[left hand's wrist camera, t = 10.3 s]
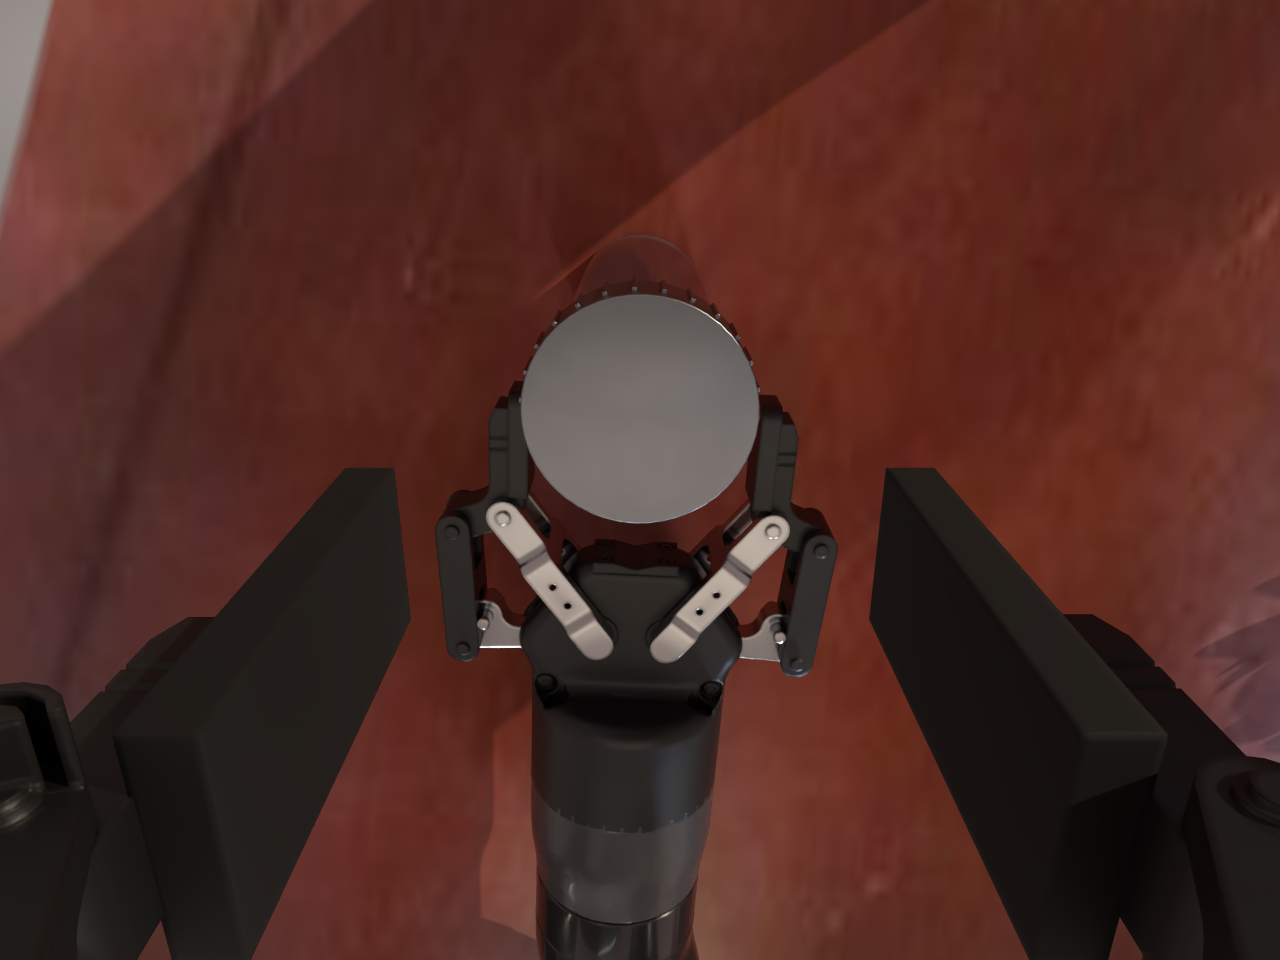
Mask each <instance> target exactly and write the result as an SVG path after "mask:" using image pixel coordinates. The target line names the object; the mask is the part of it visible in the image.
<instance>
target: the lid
mask: <svg viewBox="0 0 1280 960" xmlns="http://www.w3.org/2000/svg"><path fill="white" fill-rule="evenodd" d="M739 339H740V336H739V334H738V332H737V330H736V328H735V326H734V325H733V323H731V324H730V325H729V324H728V322H727V321H726V320H725V318H724V317H723V316H722V315H721V314H720V313H719V312H718V309H717V307H716V305H715V304H714V303H712V304H711V305H709V304H708V303H707V302H706V301H704V300H703V299H701V298H700V297H698V296H696V295H694V294H693V291H692V289H690V288H688V290H687V291H686V290H684V289H682V288H679V287H677V286H673V285H669V284H666V281H665V280H662V279H661V282H654V281H637V278H632V281H626V282H619V283H614V284H611V285H609V282H606V283H604V287H601V288H598V289H596V290H594V291H591V292H589V293H587V294H585V295H583V294H582V293H581V294H579V295H578V298H577V300H575V301H574V302H573V303H572V304H570V305H569V306H568V307H567V308H565V309H564V310H563V311H562V312H561V311H560V310H559V311H558V312H557V313H556V315H555V317H554V319H553V322H552V324H551V325H550V326H549V328H548V329H547V330H546V332H545V333H544V332H541V334H540V336H539V338H538V340H537V342H536V344H535V346H534V348H535V349H536V351H535V353H534V355H533V357H532V356H531V357H530V359H529V361H528V363H527V365H526V367H525V369H524V372H523V374H524V375H525V378H524V382H523V387H522V392H521V395H520V397H519V402H521V403H520V414H521V425H522V430H523V435H524V439H525V442H526V445H527V447H528V450H529V453H530V455H531V457H532V459H533V461H534V463H535V465H536V466H537V468H538V469H539V471H540V472H541V474H542V475H543V476H544V478H545V479H546V480H547V481H548V482H549V483H550V484H551V486H552V487H553V488H554V489H555V490H556V491H558V492H559V493H560V494H561V495H562V496H563V497H564V498H566V499H567V500H569V501H570V502H572V503H573V504H575V505H576V506H578V507H580V508H582V509H584V510H586V511H588V512H590V513H592V514H595V515H597V516H600V517H603V518H606V519H610V520H615V521H619V522H628V523H652V522H660V521H666V520H670V519H673V518H677V517H680V516H683V515H685V514H688V513H690V512H693V511H694V510H696V509H698V508H700V507H702V506H704V505H705V504H707V503H708V502H710V501H711V500H713V499H714V498H715V497H717V496H718V495H719V494H720V493H721V492H722V491H723V490H725V489H726V488H727V487H728V486H729V485H730V483H731V482H732V481H733V480H734V479H735V478H736V476H737V475H738V474H739V472H740V471H741V469H742V467H743V466H744V464H745V463H746V461H747V459H748V457H749V454H750V452H751V450H752V448H753V445H754V441H755V438H756V435H757V430H758V424H759V419H760V414H759V412H760V402H759V392H760V387H759V385H758V383H757V381H756V378H755V375H754V372H753V370H752V367H751V365H753V364H754V363H753V360H752V358H751V356H750V354H749V352H748V350H747V348H746V347H744V348H743V347H742V345H741V343H740V341H739Z"/></svg>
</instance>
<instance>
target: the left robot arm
mask: <svg viewBox="0 0 1280 960" xmlns="http://www.w3.org/2000/svg"><path fill="white" fill-rule="evenodd" d="M410 620H411V617H410V608H409V599H408V590H407V581H406V572H405V563H404V554H403V545H402V536H401V527H400V517H399V508H398V499H397V490H396V481H395V472H394V468H345V469H344V470H343V472H342V473H341V474H340V475H339V476H338V477H337V478H336V480H335V481H334V482H333V483H332V484H331V485H330V486H329V488H328V489H327V490H326V491H325V492H324V493H323V494H322V496H321V497H320V498H319V499H318V500H317V501H316V502H315V504H314V505H313V506H312V507H311V508H310V509H309V510H308V512H307V513H306V514H305V515H304V516H303V517H302V518H301V520H300V521H299V522H298V523H297V524H296V525H295V526H294V528H293V529H292V530H291V531H290V532H289V533H288V534H287V536H286V537H285V538H284V539H283V540H282V541H281V542H280V544H279V545H278V546H277V547H276V548H275V549H274V550H273V552H272V553H271V554H270V555H269V556H268V557H267V558H266V560H265V561H264V562H263V563H262V564H261V565H260V566H259V568H258V569H257V570H256V571H255V572H254V573H253V574H252V576H251V577H250V578H249V579H248V580H247V581H246V582H245V584H244V585H243V586H242V587H241V588H240V589H239V590H238V592H237V593H236V594H235V595H234V596H233V597H232V598H231V600H230V601H229V602H228V603H227V604H226V605H225V606H224V608H223V609H222V610H221V611H220V612H219V613H218V614H217V615H216V617H188V618H186V619H184V620H183V621H181V622H179V623H178V624H176V625H174V626H173V627H171V628H169V629H167V630H166V631H164V632H162V633H161V634H159V635H157V636H155V637H154V638H152V639H151V640H150V641H149V642H148V643H147V644H146V645H145V646H144V647H143V648H142V649H141V650H140V651H139V652H138V653H137V654H136V655H135V656H134V657H133V658H132V659H131V660H130V661H129V662H128V663H127V664H126V670H121V671H120V672H119V673H118V674H117V675H116V676H115V677H114V678H113V679H112V680H111V681H110V682H109V683H108V684H107V685H106V686H105V687H106V689H105V692H99V693H98V695H97V696H96V697H95V698H94V699H93V700H92V701H91V702H90V703H89V704H88V705H87V706H86V707H85V708H84V709H83V710H82V711H81V712H80V713H79V714H78V715H77V716H76V717H75V718H74V719H73V720H72V721H71V723H70V722H69V718H68V715H67V712H66V708H65V705H64V701H63V698H62V695H61V694H60V693H58V692H57V691H55V690H54V689H52V688H51V687H49V686H48V685H40V684H33V683H25V682H21V683H12V684H2V685H0V960H138V957H139V955H140V953H141V952H142V950H143V949H144V947H145V945H146V944H147V942H148V940H149V939H150V937H151V935H152V934H153V932H154V930H155V929H156V927H157V926H158V924H159V922H160V921H162V925H163V928H164V932H165V936H166V939H167V943H168V947H169V951H170V954H171V958H172V960H251V958H252V956H253V954H254V952H255V950H256V948H257V945H258V943H259V941H260V939H261V937H262V935H263V933H264V930H265V928H266V926H267V924H268V922H269V920H270V918H271V916H272V913H273V911H274V909H275V907H276V905H277V903H278V901H279V899H280V896H281V894H282V892H283V890H284V888H285V886H286V884H287V882H288V879H289V877H290V875H291V873H292V871H293V869H294V867H295V865H296V862H297V860H298V858H299V856H300V854H301V852H302V850H303V848H304V845H305V843H306V841H307V839H308V837H309V835H310V833H311V831H312V828H313V826H314V824H315V822H316V820H317V818H318V816H319V814H320V811H321V809H322V807H323V805H324V803H325V801H326V799H327V797H328V794H329V792H330V790H331V788H332V786H333V784H334V782H335V779H336V777H337V775H338V773H339V771H340V769H341V767H342V765H343V762H344V760H345V758H346V756H347V754H348V752H349V750H350V748H351V745H352V743H353V741H354V739H355V737H356V735H357V733H358V731H359V728H360V726H361V724H362V722H363V720H364V718H365V716H366V714H367V711H368V709H369V707H370V705H371V703H372V701H373V699H374V697H375V694H376V692H377V690H378V688H379V686H380V684H381V682H382V680H383V677H384V675H385V673H386V671H387V669H388V667H389V665H390V663H391V660H392V658H393V656H394V654H395V652H396V650H397V648H398V646H399V643H400V641H401V639H402V637H403V635H404V633H405V631H406V628H407V626H408V624H409V622H410ZM869 620H870V622H871V624H872V626H873V628H874V631H875V633H876V635H877V637H878V639H879V641H880V643H881V646H882V648H883V650H884V652H885V654H886V656H887V658H888V660H889V663H890V665H891V667H892V669H893V671H894V673H895V675H896V677H897V680H898V682H899V684H900V686H901V688H902V690H903V692H904V694H905V697H906V699H907V701H908V703H909V705H910V707H911V709H912V711H913V714H914V716H915V718H916V720H917V722H918V724H919V726H920V728H921V731H922V733H923V735H924V737H925V739H926V741H927V743H928V745H929V748H930V750H931V752H932V754H933V756H934V758H935V760H936V762H937V765H938V767H939V769H940V771H941V773H942V775H943V777H944V779H945V782H946V784H947V786H948V788H949V790H950V792H951V794H952V797H953V799H954V801H955V803H956V805H957V807H958V809H959V811H960V814H961V816H962V818H963V820H964V822H965V824H966V826H967V828H968V831H969V833H970V835H971V837H972V839H973V841H974V843H975V845H976V848H977V850H978V852H979V854H980V856H981V858H982V860H983V862H984V865H985V867H986V869H987V871H988V873H989V875H990V877H991V879H992V882H993V884H994V886H995V888H996V890H997V892H998V894H999V896H1000V899H1001V901H1002V903H1003V905H1004V907H1005V909H1006V911H1007V913H1008V916H1009V918H1010V920H1011V922H1012V924H1013V926H1014V928H1015V930H1016V933H1017V935H1018V937H1019V939H1020V941H1021V943H1022V945H1023V948H1024V950H1025V952H1026V954H1027V956H1028V958H1029V960H1108V958H1109V954H1110V951H1111V947H1112V943H1113V939H1114V936H1115V932H1116V928H1117V925H1118V921H1119V917H1120V918H1121V919H1122V921H1123V923H1124V924H1125V926H1126V927H1127V929H1128V931H1129V932H1130V934H1131V936H1132V937H1133V939H1134V941H1135V942H1136V944H1137V945H1138V947H1139V949H1140V950H1141V952H1142V954H1143V957H1142V960H1280V763H1278V762H1275V761H1272V760H1268V759H1265V758H1258V757H1249V756H1246V755H1245V754H1244V753H1243V752H1242V751H1241V750H1240V749H1239V748H1238V747H1237V746H1236V745H1235V744H1234V743H1233V742H1232V741H1231V740H1230V739H1229V738H1228V737H1227V736H1226V735H1225V734H1224V733H1223V732H1222V731H1221V730H1220V729H1219V727H1218V726H1217V725H1216V724H1215V723H1214V722H1213V721H1212V720H1211V719H1210V718H1209V717H1208V716H1207V715H1206V714H1205V713H1204V712H1203V711H1202V710H1201V709H1200V708H1199V707H1198V706H1197V705H1196V704H1195V703H1194V702H1193V701H1192V700H1191V699H1190V698H1189V697H1188V696H1187V695H1186V694H1185V692H1184V691H1183V690H1182V689H1176V687H1175V682H1174V681H1173V680H1172V679H1171V678H1170V677H1169V676H1168V675H1167V674H1166V673H1165V672H1164V671H1163V670H1162V669H1161V668H1160V667H1155V662H1154V661H1153V660H1152V659H1151V657H1150V656H1149V655H1148V654H1147V653H1146V652H1145V651H1144V650H1143V649H1142V648H1141V647H1140V646H1139V645H1138V644H1137V643H1136V642H1135V641H1134V640H1133V639H1132V638H1131V637H1130V636H1129V635H1127V634H1125V633H1123V632H1122V631H1120V630H1118V629H1117V628H1115V627H1113V626H1111V625H1110V624H1108V623H1106V622H1105V621H1103V620H1101V619H1099V618H1098V617H1096V616H1094V615H1092V614H1062V613H1061V612H1060V611H1059V610H1058V609H1057V608H1056V606H1055V605H1054V604H1053V603H1052V602H1051V601H1050V600H1049V598H1048V597H1047V596H1046V595H1045V594H1044V593H1043V592H1042V590H1041V589H1040V588H1039V587H1038V586H1037V585H1036V584H1035V582H1034V581H1033V580H1032V579H1031V578H1030V577H1029V576H1028V574H1027V573H1026V572H1025V571H1024V570H1023V569H1022V568H1021V566H1020V565H1019V564H1018V563H1017V562H1016V561H1015V560H1014V558H1013V557H1012V556H1011V555H1010V554H1009V553H1008V552H1007V550H1006V549H1005V548H1004V547H1003V546H1002V545H1001V544H1000V542H999V541H998V540H997V539H996V538H995V537H994V536H993V534H992V533H991V532H990V531H989V530H988V529H987V528H986V526H985V525H984V524H983V523H982V522H981V521H980V520H979V518H978V517H977V516H976V515H975V514H974V513H973V512H972V510H971V509H970V508H969V507H968V506H967V505H966V504H965V502H964V501H963V500H962V499H961V498H960V497H959V496H958V494H957V493H956V492H955V491H954V490H953V489H952V488H951V486H950V485H949V484H948V483H947V482H946V481H945V480H944V478H943V477H942V476H941V475H940V474H939V473H938V472H937V470H936V469H935V468H886V472H885V481H884V490H883V499H882V508H881V517H880V527H879V536H878V545H877V554H876V563H875V572H874V581H873V590H872V599H871V608H870V617H869Z"/></svg>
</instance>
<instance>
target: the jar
mask: <svg viewBox="0 0 1280 960" xmlns="http://www.w3.org/2000/svg"><path fill="white" fill-rule="evenodd" d="M632 278H637V281H654V282H661V279H662V280H665V281H666V284H669V285H673V286H677V287H679V288H682V289H684V290H686V291H687V290H688V288H690V289H692V291H693V294H694V295H696V296H698V297H700V298H701V299H703V300H704V301H706V302H707V303H708V304H709V301H708V299H707V296H706V294H705V291H704V289H703V286H702V284H701V281H700V279H699V276H698V274H697V271H696V269H695V267H694V266H693V264H692V262H691V261H690V259H689V258H688V257H687V256H686V255H685V254H684V253H683V251H682V250H680V249H679V248H678V247H677V246H675V245H674V244H672V243H670V242H669V241H667V240H664V239H662V238H659V237H656V236H652V235H644V234H636V235H628V236H624V237H621V238H618V239H616V240H613V241H611V242H610V243H608V244H606V245H605V246H603V247H602V248H601V249H600V250H598V251H597V252H596V254H595V255H594V256H593V257H592V258H591V259H590V261H589V262H588V264H587V266H586V267H585V269H584V271H583V274H582V276H581V279H580V281H579V284H578V286H577V288H576V291H575V293H574V296H573V298H572V301H571V303H570V304H572V303H573V302H574V301H575V300H577V298H578V295H579V294H581V293H582V294H583V295H585V294H587V293H589V292H591V291H594V290H596V289H598V288H601V287H604V283H606V282H609V285H611V284H614V283H619V282H626V281H632ZM709 305H710V304H709Z"/></svg>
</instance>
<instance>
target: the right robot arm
mask: <svg viewBox="0 0 1280 960" xmlns="http://www.w3.org/2000/svg"><path fill="white" fill-rule="evenodd" d="M523 382H524V381H514V383H513V385H512V387H511V389H510V391H509V396H508V397H503V396H500V398H499V400H498V402H497V404H496V406H495V408H494V410H493V413H492V415H491V418H490V420H489V485H488V486H486V487H485V488H482V489H479V490H475V491H472V492H471V491H468V490H459V491H456V492H455V493H453V494H452V495H451V497H450V499H449V501H448V503H447V506H446V509H445V511H444V513H443V515H442V516H441V517H440V518H439V520H438V522H437V524H436V527H435V536H436V546H437V556H438V565H439V575H440V585H441V595H442V605H443V614H444V624H445V634H446V644H447V650H448V653H449V654H450V656H451V657H453V658H454V659H456V660H458V661H470V660H472V659H474V658H475V657H476V656H477V655H478V653H479V650H480V648H522V650H523V652H524V653H525V655H526V656H527V658H528V660H529V662H530V664H531V667H532V673H533V684H532V769H531V777H532V785H531V819H532V831H533V838H534V844H535V849H536V858H537V884H536V939H537V947H538V952H539V957H540V960H699V956H698V952H697V947H696V943H695V938H694V933H693V928H692V926H693V919H694V907H695V897H696V887H697V878H698V871H699V865H700V861H701V857H702V854H703V851H704V847H705V844H706V840H707V836H708V830H709V824H710V815H711V806H712V797H713V787H714V778H715V768H716V759H717V750H718V741H719V731H720V722H721V713H722V703H723V694H724V685H725V680H726V677H727V675H728V673H729V671H730V669H731V668H732V666H733V665H734V664H735V663H736V662H737V660H738V659H739V658H750V659H760V660H770V661H779V662H780V665H781V669H782V671H783V672H784V673H785V674H786V675H788V676H791V677H801V676H804V675H806V674H807V673H808V672H809V671H810V670H811V668H812V665H813V661H814V657H815V652H816V647H817V643H818V638H819V634H820V629H821V625H822V620H823V616H824V611H825V607H826V602H827V598H828V593H829V589H830V584H831V580H832V575H833V571H834V566H835V562H836V557H837V553H838V546H837V543H836V541H835V539H834V537H833V535H832V533H831V530H830V528H829V526H828V524H827V522H826V520H825V518H824V516H823V514H822V513H821V512H820V511H819V510H817V509H815V508H805V509H804V508H802V507H799V506H797V505H795V504H793V503H791V495H792V487H793V479H794V471H795V464H796V454H797V448H798V440H799V438H798V435H797V431H796V428H795V424H794V422H793V421H792V419H791V417H790V415H789V413H788V412H783V410H782V406H781V404H780V402H779V400H778V398H777V396H775V395H759V402H760V412H759V414H760V419H759V424H758V430H757V435H756V438H755V441H754V445H753V448H752V450H751V452H750V454H749V457H748V466H747V475H746V484H745V488H746V491H747V495H748V499H747V500H746V501H745V502H744V504H743V505H742V506H741V507H740V508H739V509H738V510H737V511H736V512H735V513H734V514H733V515H732V516H731V517H730V518H729V519H728V520H727V521H726V522H725V523H724V524H723V525H718V526H716V527H714V528H713V529H712V530H711V531H710V532H709V533H708V534H707V535H706V536H705V537H704V538H703V539H702V540H701V541H700V542H699V543H698V544H697V545H696V546H695V547H694V549H693V550H692V551H691V552H690V553H687V552H685V551H683V550H681V549H678V548H677V543H668V542H654V543H649V544H643V545H638V546H634V545H631V544H627V543H624V542H621V541H617V540H606V539H595V544H594V545H590V546H587V547H584V548H582V549H581V547H580V546H579V545H578V543H577V542H576V541H575V540H574V538H573V537H572V536H571V535H570V533H569V532H568V531H567V529H566V528H565V527H564V526H563V524H562V523H561V522H560V521H559V520H558V519H557V518H555V517H552V516H551V515H550V514H549V513H548V512H547V511H546V509H545V508H544V507H543V506H542V504H541V503H540V502H539V500H538V499H537V498H536V497H535V495H534V494H533V493H532V491H531V490H530V488H531V485H532V482H533V478H534V465H535V463H534V461H533V459H532V457H531V455H530V453H529V450H528V447H527V445H526V442H525V439H524V435H523V430H522V425H521V414H520V403H521V402H519V397H520V395H521V392H522V387H523ZM490 532H494V533H495V534H496V535H497V537H498V538H499V539H500V540H501V541H502V543H503V544H504V545H505V546H506V548H507V549H508V550H509V551H510V552H511V554H512V555H513V556H514V557H515V559H516V560H517V562H518V564H519V567H520V571H521V573H522V575H523V577H524V578H525V579H526V581H527V582H528V583H529V584H530V586H531V587H532V588H533V589H534V591H535V592H536V593H537V594H538V596H537V597H536V598H535V599H534V600H533V601H532V603H531V604H530V605H529V606H528V607H527V609H526V611H525V613H524V615H519V614H516V613H514V612H512V611H511V610H509V608H508V607H507V605H506V602H505V599H504V597H503V595H502V594H501V593H500V592H498V590H497V589H495V588H490V589H487V578H486V565H485V553H484V541H483V534H486V533H490ZM780 546H782V547H784V548H787V549H788V550H787V555H786V560H785V565H784V570H783V575H782V580H781V585H780V590H779V595H778V600H777V602H774V601H770V602H768V603H766V605H765V606H763V607H762V608H761V610H760V612H759V614H758V617H757V618H756V619H755V620H754V621H753V622H752V623H749V624H746V625H739V622H738V620H737V618H736V616H735V614H734V613H733V612H732V610H731V609H730V607H729V605H730V604H731V603H732V602H733V601H734V600H735V599H736V598H737V597H738V596H739V595H740V594H741V593H742V592H743V591H744V590H745V589H746V587H747V586H748V584H749V583H750V581H751V578H752V575H753V573H754V572H755V571H756V570H757V569H758V568H759V567H760V566H761V565H762V564H763V563H764V562H765V561H766V560H767V559H768V558H769V557H770V556H771V555H772V554H773V553H774V552H775V551H776V550H777V549H778V548H779V547H780Z"/></svg>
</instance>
